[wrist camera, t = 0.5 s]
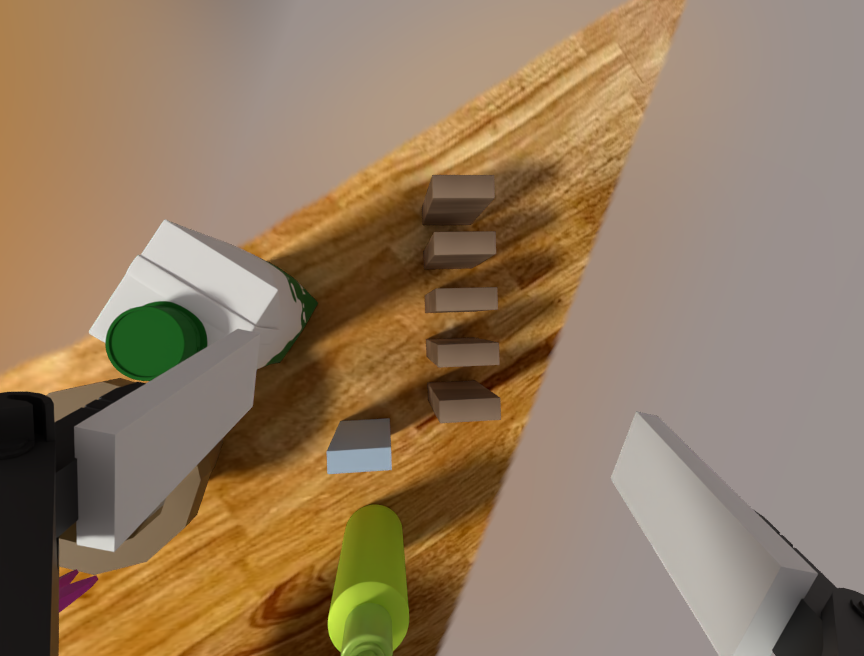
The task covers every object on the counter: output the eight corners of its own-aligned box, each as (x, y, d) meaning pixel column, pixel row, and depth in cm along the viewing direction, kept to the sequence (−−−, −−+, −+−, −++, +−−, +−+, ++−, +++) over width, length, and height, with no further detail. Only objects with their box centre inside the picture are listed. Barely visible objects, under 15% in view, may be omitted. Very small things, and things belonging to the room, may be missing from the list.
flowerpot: (135, 539, 42) (-494, 1091, 12) (60, 409, 41) (-828, 657, 11) (270, 468, 43) (9, 808, 13) (201, 340, 42) (-252, 395, 12)
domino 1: (390, 435, 44) (391, 469, 34) (340, 438, 44) (327, 474, 34) (389, 418, 44) (390, 447, 34) (340, 421, 44) (326, 451, 34)
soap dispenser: (325, 524, 44) (275, 696, 24) (388, 494, 44) (390, 638, 24) (349, 575, 44) (319, 786, 24) (411, 545, 45) (432, 727, 25)
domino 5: (474, 354, 45) (499, 364, 35) (426, 356, 44) (438, 367, 34) (473, 337, 45) (498, 342, 35) (426, 339, 44) (437, 344, 34)
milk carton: (204, 328, 42) (41, 337, 22) (255, 250, 42) (140, 190, 22) (283, 375, 43) (194, 424, 23) (332, 299, 43) (286, 282, 23)
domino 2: (470, 224, 45) (494, 197, 35) (422, 225, 44) (433, 197, 34) (469, 207, 45) (494, 175, 35) (421, 207, 44) (432, 174, 34)
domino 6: (475, 397, 45) (500, 419, 35) (427, 399, 44) (440, 423, 35) (474, 380, 45) (500, 397, 35) (427, 382, 44) (439, 400, 34)
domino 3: (471, 268, 45) (496, 253, 35) (423, 269, 44) (434, 254, 34) (471, 250, 45) (495, 231, 35) (423, 251, 44) (434, 231, 34)
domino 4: (472, 311, 45) (497, 309, 35) (425, 312, 44) (436, 311, 34) (472, 294, 45) (497, 287, 35) (424, 295, 44) (436, 288, 34)
